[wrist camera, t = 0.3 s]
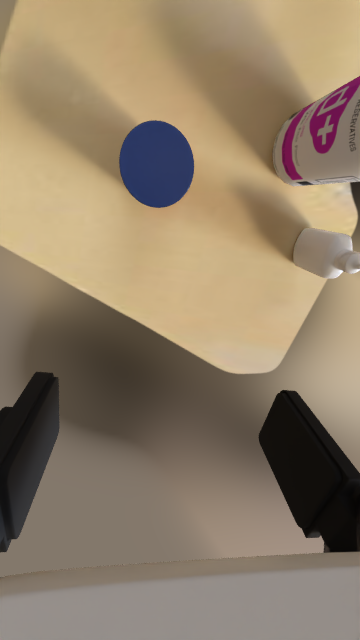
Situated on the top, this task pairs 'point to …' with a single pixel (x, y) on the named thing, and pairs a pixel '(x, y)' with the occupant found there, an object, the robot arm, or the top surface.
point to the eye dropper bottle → (325, 253)
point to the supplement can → (322, 140)
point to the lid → (156, 164)
